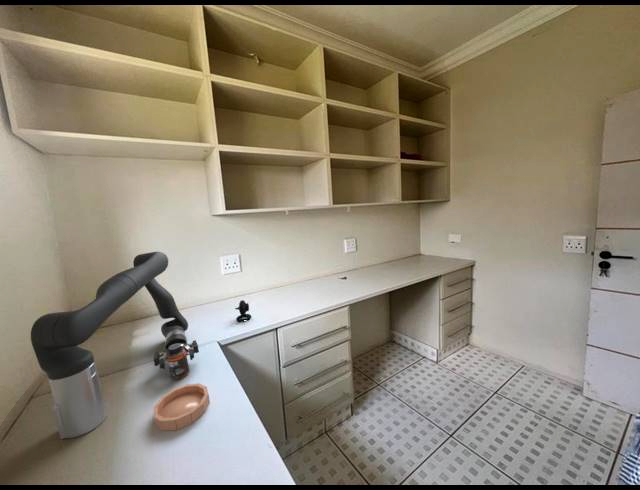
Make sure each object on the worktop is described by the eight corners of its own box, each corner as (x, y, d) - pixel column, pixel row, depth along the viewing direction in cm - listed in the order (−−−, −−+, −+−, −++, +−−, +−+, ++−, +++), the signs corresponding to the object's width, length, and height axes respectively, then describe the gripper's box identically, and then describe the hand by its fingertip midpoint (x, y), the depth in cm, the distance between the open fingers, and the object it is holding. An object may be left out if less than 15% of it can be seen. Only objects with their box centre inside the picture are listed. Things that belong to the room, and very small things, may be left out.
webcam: (250, 321, 131) (248, 302, 129) (235, 323, 130) (232, 304, 128) (252, 314, 139) (250, 297, 137) (237, 316, 137) (235, 299, 136)
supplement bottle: (185, 367, 96) (180, 339, 94) (192, 373, 92) (187, 344, 90) (167, 376, 91) (162, 347, 89) (174, 383, 87) (169, 352, 86)
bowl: (154, 439, 66) (152, 429, 65) (156, 405, 78) (154, 396, 77) (212, 414, 73) (210, 404, 72) (205, 385, 85) (204, 377, 84)
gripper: (153, 339, 99) (151, 359, 85) (194, 328, 106) (198, 345, 92) (156, 357, 100) (155, 380, 86) (196, 345, 107) (201, 364, 93)
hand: (177, 362), depth 89 cm, fingers open, 8 cm apart
